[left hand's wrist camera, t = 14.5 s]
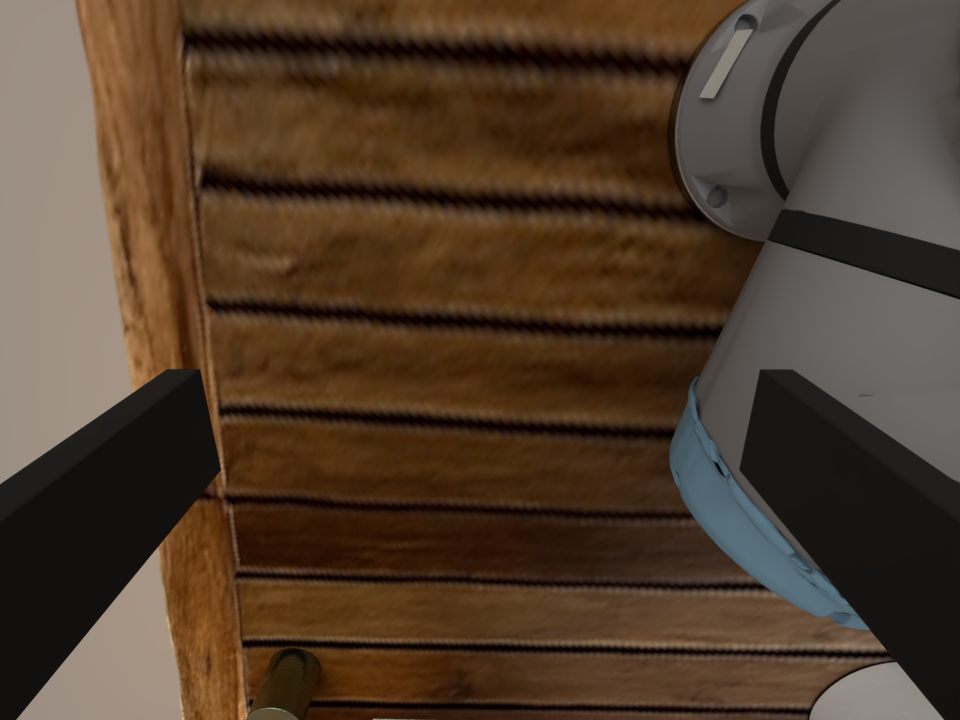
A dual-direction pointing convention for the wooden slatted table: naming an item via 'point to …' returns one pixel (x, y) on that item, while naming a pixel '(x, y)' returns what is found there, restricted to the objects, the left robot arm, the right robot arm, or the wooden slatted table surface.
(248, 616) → the wooden slatted table surface
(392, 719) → the bar
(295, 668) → the sage tin
